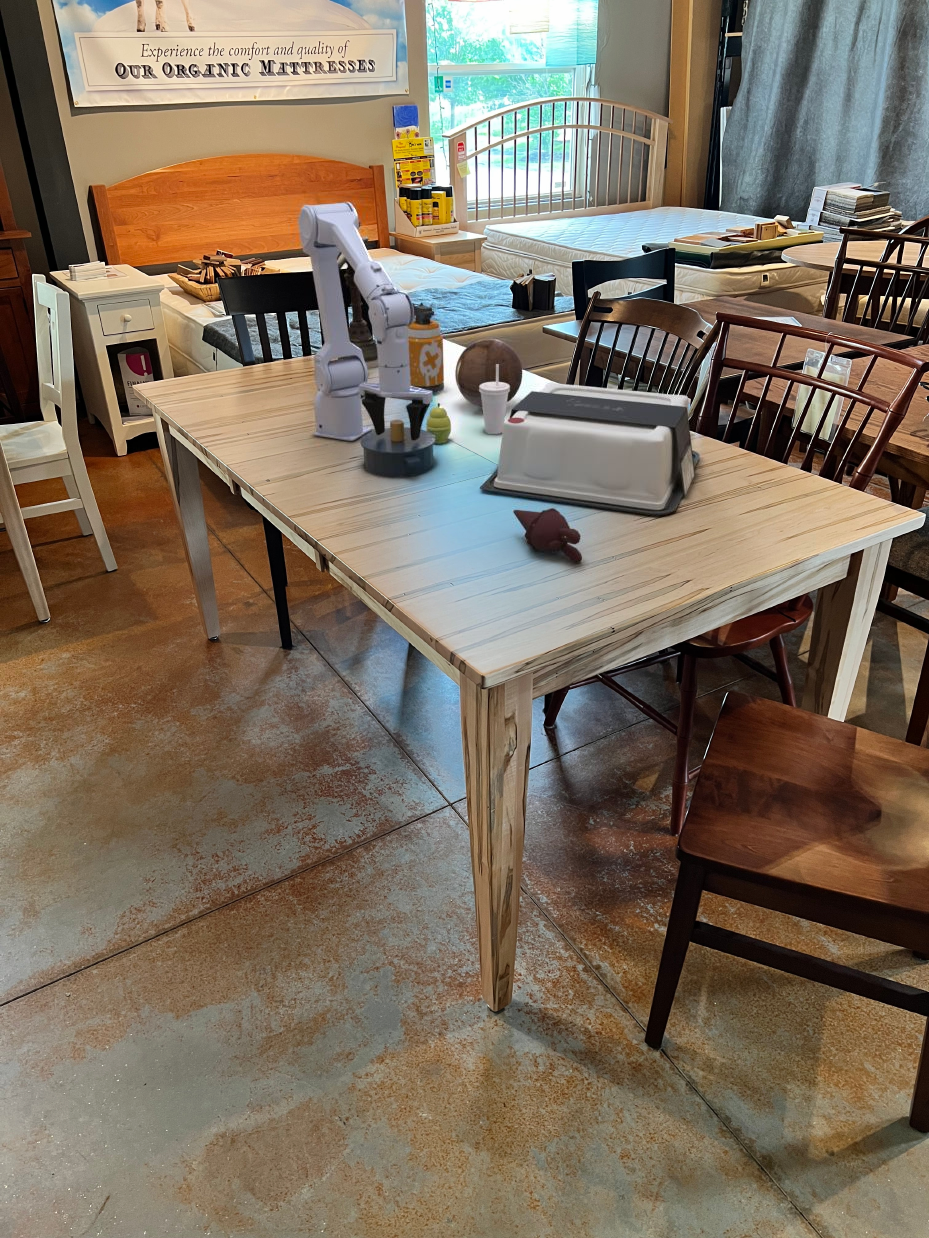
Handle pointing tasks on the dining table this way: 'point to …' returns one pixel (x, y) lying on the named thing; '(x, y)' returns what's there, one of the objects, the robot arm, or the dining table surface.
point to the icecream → (549, 532)
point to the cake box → (597, 449)
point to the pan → (398, 463)
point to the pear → (439, 424)
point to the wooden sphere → (487, 368)
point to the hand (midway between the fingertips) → (397, 436)
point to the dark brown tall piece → (358, 317)
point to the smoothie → (494, 404)
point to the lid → (397, 440)
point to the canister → (425, 351)
